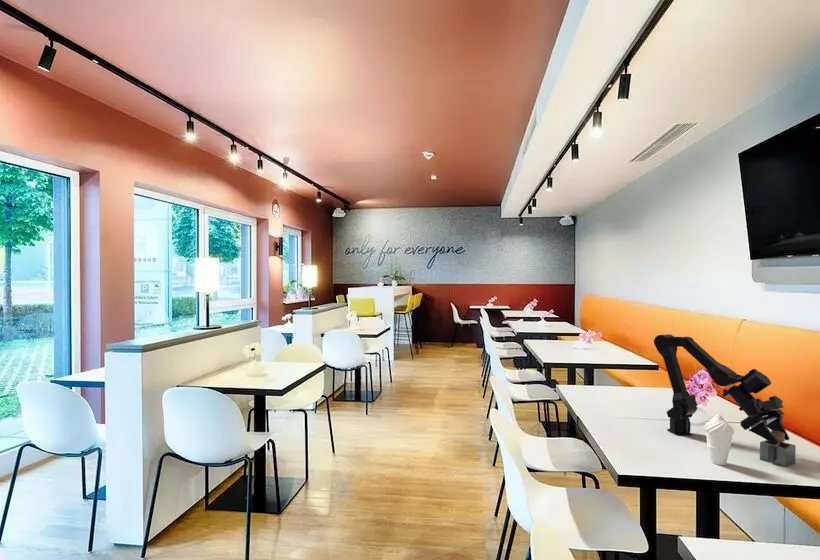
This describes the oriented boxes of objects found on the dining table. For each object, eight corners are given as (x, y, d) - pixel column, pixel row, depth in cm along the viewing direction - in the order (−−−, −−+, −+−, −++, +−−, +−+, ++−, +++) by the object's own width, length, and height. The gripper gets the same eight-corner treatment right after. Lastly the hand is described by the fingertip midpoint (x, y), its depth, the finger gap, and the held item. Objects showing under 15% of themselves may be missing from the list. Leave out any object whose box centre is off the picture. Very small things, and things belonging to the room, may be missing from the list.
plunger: (764, 453, 157) (765, 431, 157) (772, 450, 160) (772, 429, 160) (783, 458, 153) (783, 435, 153) (790, 456, 155) (790, 433, 155)
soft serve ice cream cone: (734, 470, 148) (735, 419, 148) (703, 464, 153) (704, 415, 153) (732, 461, 156) (733, 413, 156) (703, 456, 160) (704, 409, 160)
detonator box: (758, 460, 157) (758, 442, 157) (770, 456, 161) (770, 438, 161) (783, 467, 151) (783, 449, 151) (795, 463, 155) (795, 445, 155)
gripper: (751, 391, 155) (790, 433, 146) (777, 385, 164) (816, 425, 155) (725, 408, 162) (761, 450, 152) (752, 402, 171) (787, 441, 162)
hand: (782, 441), depth 155 cm, fingers open, 8 cm apart
